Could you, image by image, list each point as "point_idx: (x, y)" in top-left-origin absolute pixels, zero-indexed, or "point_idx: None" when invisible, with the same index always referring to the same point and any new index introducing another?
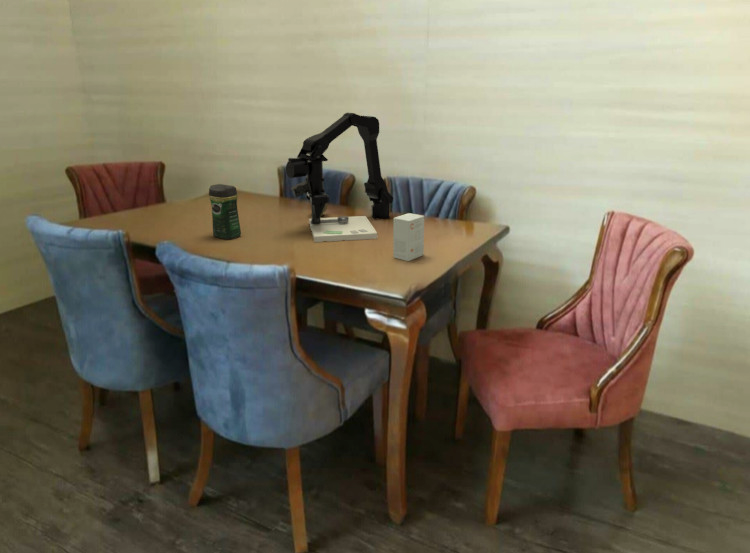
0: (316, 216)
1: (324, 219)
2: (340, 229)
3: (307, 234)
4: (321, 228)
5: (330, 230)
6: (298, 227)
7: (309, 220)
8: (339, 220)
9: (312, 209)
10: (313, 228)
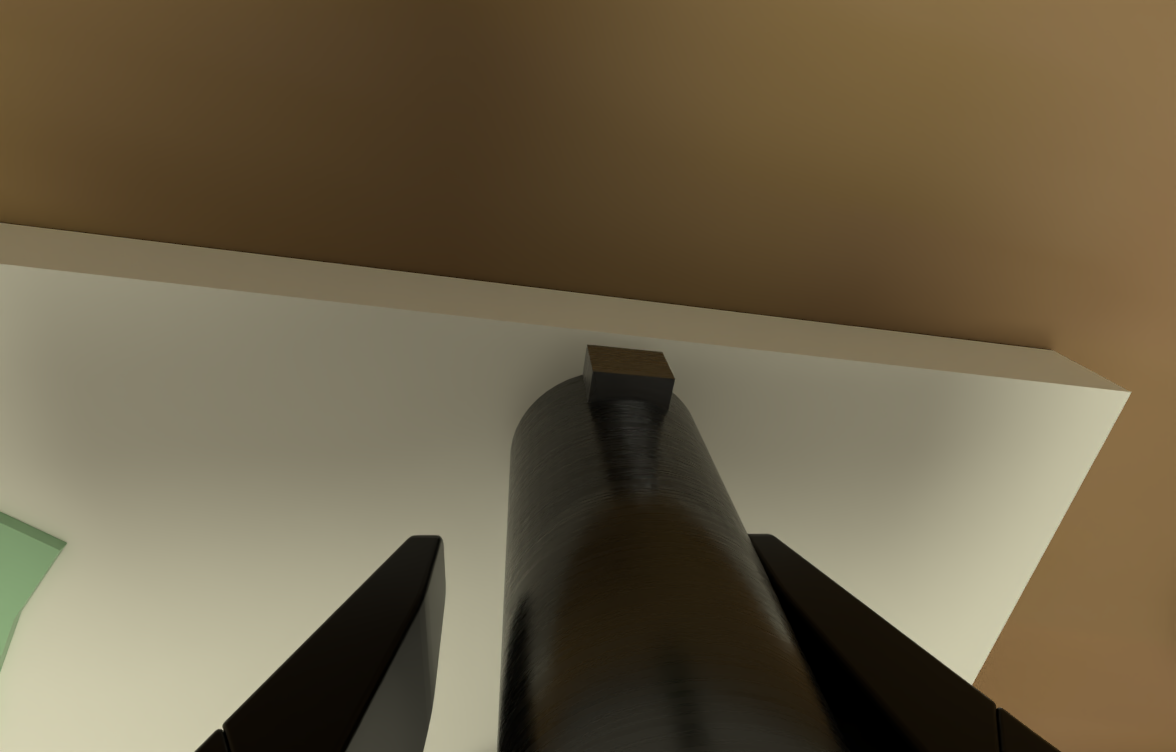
0: (371, 584)
1: (906, 618)
2: (159, 733)
3: (333, 165)
4: (283, 480)
5: (99, 597)
6: (935, 95)
7: (1002, 376)
8: None
9: (577, 670)
10: (317, 333)
